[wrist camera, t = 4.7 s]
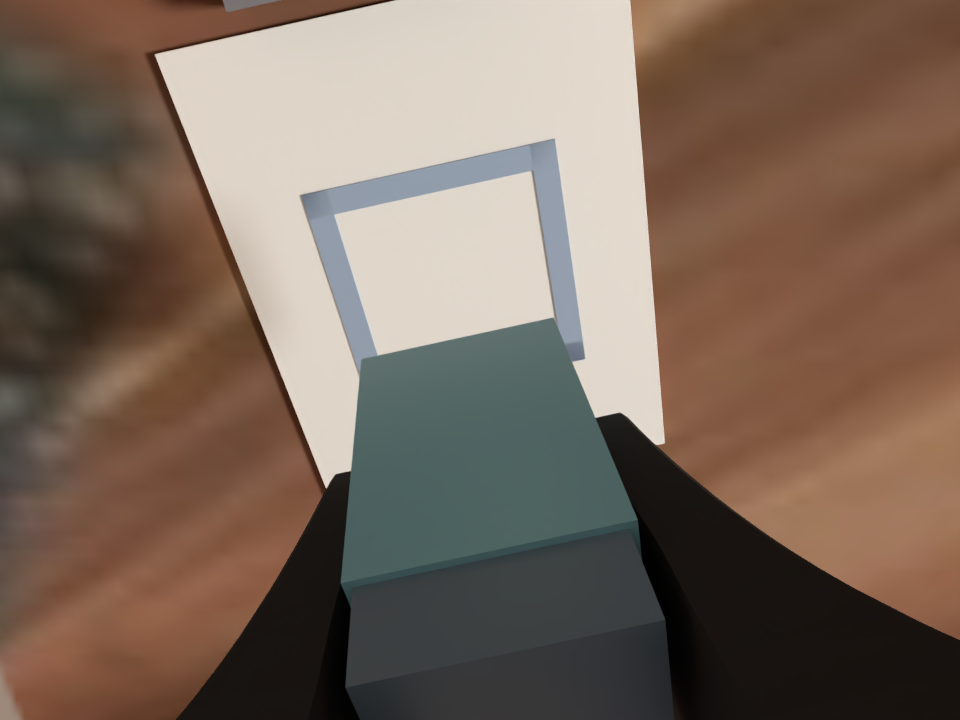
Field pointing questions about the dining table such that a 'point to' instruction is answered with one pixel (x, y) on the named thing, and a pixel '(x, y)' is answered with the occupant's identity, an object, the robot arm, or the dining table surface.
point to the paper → (431, 191)
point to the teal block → (494, 543)
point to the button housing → (243, 4)
